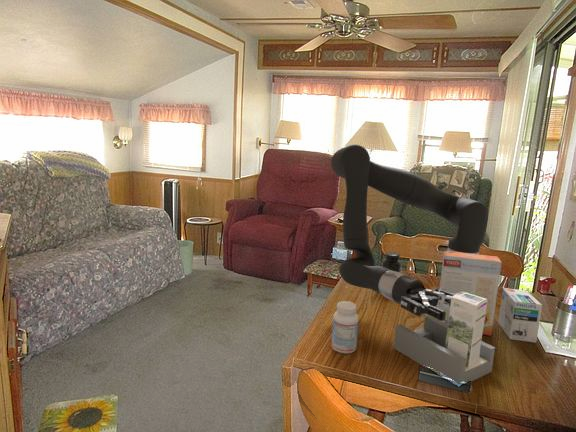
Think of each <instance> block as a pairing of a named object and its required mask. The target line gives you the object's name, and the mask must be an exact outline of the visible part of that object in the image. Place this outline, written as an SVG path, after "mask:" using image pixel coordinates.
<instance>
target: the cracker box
mask: <svg viewBox="0 0 576 432" xmlns="http://www.w3.org/2000/svg"><path fill="white" fill-rule="evenodd" d="M501 269H502V261H501V259H500V258H499V256H495V255H487V254H486V255H485V254H480V253H479V254H470V253H461V252H453V251H447V250H444V251H443V256H442V265H441V271H440V272H441V274H440V280H439V281H440V283H439V288H440V289H443V290H446V291H449V292H451V293H454V294H457V293H459V292H462V291H463V292H466V293H469V294H473V295H476V296H479V297H482V298H485V299H487V308H486V314H485V320H484V326H483V333H482V336H483V335H484V336H489V337H490V336H492V332H493V326H494V319H495V318H494V317H495V312H496V305H497V304H496V303H497V297H498V289H499V284H500V277H501ZM449 300H450V299H449ZM444 302H445V301H444ZM438 303H441V300H438ZM445 303H447V302H445ZM437 308H439V309H441V310H443V311H445V312H446V316H445V320H443V321H441V322H443V323H445V324H447V325H448V320H449V313H450V307H446V306H444V307H443V308H441V307H437ZM435 319H436V318H435ZM436 320H438V319H436ZM439 321H440V320H439Z"/></svg>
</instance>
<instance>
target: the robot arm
mask: <svg viewBox="0 0 576 432" xmlns="http://www.w3.org/2000/svg"><path fill="white" fill-rule="evenodd" d="M330 160H331V161H330V165H331V168H332V170H333V172H334V173H335V174H336V175H337V176H339V177H340V178H342V179H345V186H346V187H345V188H346V191H345V192H346V195H345V196H346V197H345V198H346V199H345V205H344V210H343V215H342V235H343V246H344V247H345V249H346V250H350V251H354V254H355V257H354V258H353V257H352V258H348V259H345V260H343V261H342V262H341V263H340V265H339V269H338V271H339V274H340V277H341V279H342V280H343V281H344V282H345V283H347V284H349V285H352V286H354V287H359V288H363V289H369V290H372V291H373V292H375V293H377V294H380V295H382V296H384V297H385V298H387V299H388V300H390V301H392V302H394V303H396V304H398V305H399V306H400V308H401V309H403V310H405V311H407V312H410V313H411V314H413V315H415V316H417V317H421V316H422V315H423V316H425V317H426V316H430V317H432V318H434V319H438V320H440V321H443V320H445V316H446V312H445V311H443V310H441V309H439V308H437V307H441V308H443V307H444V306H446V307H450V304H451V298H452V296H454V295H455V294H454V293H451V292H449V291H446V290H443V289H440V287H434V288H435V290H433V289H429V288H426V287H425V285H424V282H422V281H421V280H420V279H418V278H414V277H412V276H409V275H406V274H405V273H402V272H401V273H399V272H395V271H392V270H389V269H387V268H384V267H381V266H380V265H376V262H375V260H374V255H373V254H372V249H371V247H370V244H369V236H368V235H369V234H368V231H369V230H368V216H367V212H368V210H367V209H368V203H367V202H368V187H370V188H372V189H375V190H376V191H378V192H380V193H382V194H384V195H386V196H388V197H390V198H392V199H394V200H397V201H398V202H401V203H403V204H406V205H408V206H411V207H412V208H416V209H420V210H425V211H429V212H431V213H434V214H435V215H437V216H440V217H441V218H443V219H445V220H447V221H448V222H450V223H452V224H454V225H455V226H457V231H456V232H457V233H456V235H455V237H454V236H453V237H450V239H449V240H448V243H447V250H446V251H453V252H461V253H470V254H479V255H480V249H481V247H482V245H483V242H484V240H485V235H486V231H487V230H486V229H487V225H488V221H489V220H488V219H489V211H488V209H487V206H486V205H485V204H484V203H483V202H481V201H477V200H475V199H470V198H468V197H463V196H457V195H454V194H453V193H448V192H446V191H443V190H441V189H440V188H439V187H438V186H436V185H435V184H434V183H432V182H431V181H429V180H428V179H426V178H424V177H422V176H420V175H418V174H415V173H413V172H411V171H408V170H406V169H401V168H397V167H393V166H387V165H382V164H379V163H377V162H374V161H372V160H371V157H370V154H369V151H368V150H367V149H366V148H365V147H364V146H362V145H360V144H349V145H346V146H345V147H342V148H340V149H338V150H337V151H335V152H334V153H333V154H332V157H331V159H330ZM449 299H450V300H449ZM438 300H441V303H438ZM444 301H445V302H447V303H445V302H444ZM415 308H416V309H415Z"/></svg>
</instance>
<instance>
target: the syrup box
mask: <svg viewBox="0 0 576 432" xmlns="http://www.w3.org/2000/svg"><path fill="white" fill-rule="evenodd" d="M486 308H487V299H485V298H482V297H479V296H476V295H473V294H469V293H466V292H463V291H462V292H459V293H457V294H455V295H454V296H452V298H451V304H450V313H449V320H448V328H447V336H446V344H445V348H446V349H448V350H449V351H451V352H453V353H455V354H457V355H459V356H461V357H463V358H464V359H466V360H467V361H466V366H467V367H469V366H471V365H472V364H473V363H475V362H476V361H477V360H478V359H479V355H480V346H481V341H482V339H483V334H482V333H483V326H484V320H485V314H486Z"/></svg>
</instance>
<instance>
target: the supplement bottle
mask: <svg viewBox="0 0 576 432" xmlns="http://www.w3.org/2000/svg"><path fill="white" fill-rule="evenodd" d="M384 255H385V257H384V259H383V260H382V261H381V267H384V268H387V269H389V270H392V271H395V272H399V273H402V266H403V264H402V262H401V261H400V259H401V254H400V253H398V252H397V251H386V252H385V254H384Z"/></svg>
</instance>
